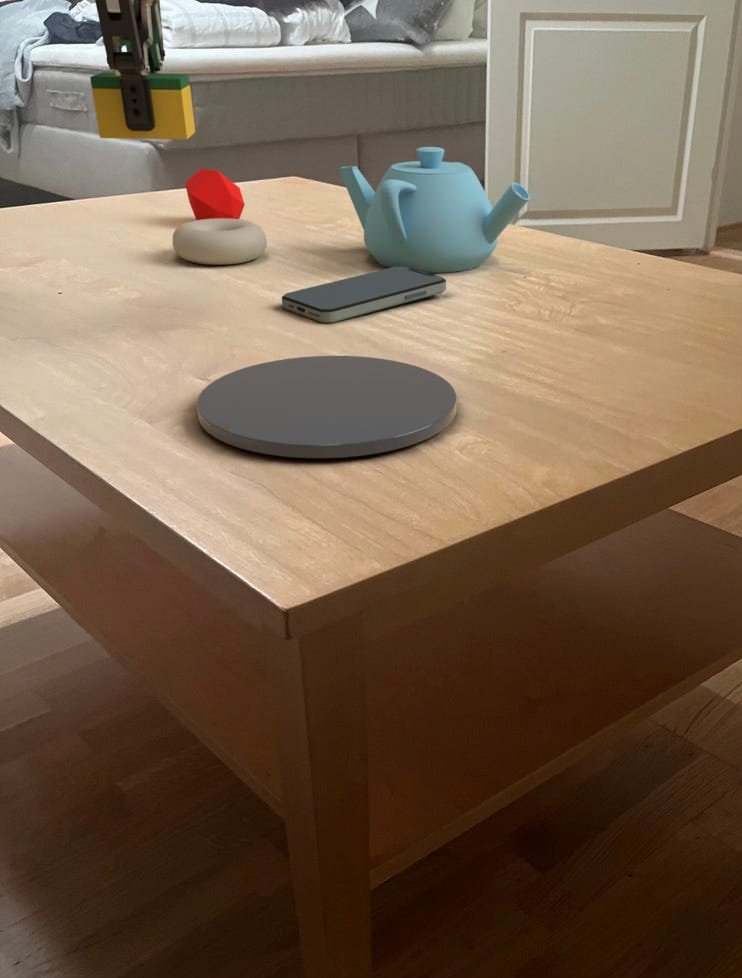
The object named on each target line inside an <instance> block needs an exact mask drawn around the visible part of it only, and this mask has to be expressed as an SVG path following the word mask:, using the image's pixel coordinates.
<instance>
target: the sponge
mask: <svg viewBox="0 0 742 978" xmlns="http://www.w3.org/2000/svg"><path fill="white" fill-rule="evenodd" d="M119 78H122V77H116V75H115V72H114V71H113V72H111V71H110V72H108V71H106V72H104V71H103V72H100V73H97V74H94V75H91V76H90V77H89V79H90V84H91V85H90V87H91V93H92V98H93V105H94V109H95V117H96V122H97V128H98V135H99V138H100V139H125V140H127V139H129V140H130V139H132V140H188V139H190V138H191V137H192V136H193V135H194V134H195V133H196V126H195V125H196V124H195V117H194V109H193V101H192V100H193V99H192V92H191V85H190V84H191V81H190V74H188V73H162V72H157V73H149V80H150V88H151V95H152V103H153V110H154V117H155V128H154V129H153V130H151V131H131V130H129V129H128V128H127V126H126V122H125V115H124V109H123V102H122V95H121V89H120V82H119Z"/></svg>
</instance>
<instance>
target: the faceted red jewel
mask: <svg viewBox="0 0 742 978" xmlns="http://www.w3.org/2000/svg"><path fill="white" fill-rule="evenodd" d="M184 185H185V189H186V193H187V198H188V203H189V205H190V207H191V210H192V213H193V216H194V218H195V221H196V220H202V219H220V218H224V219H239V220H240V218H241V216H242V214H243V210H244V208H245V206H246V205H245V202H244V198H243V195H242V191H241V188H240V187H239V185H237V184H235V182H233V181H232V180H231V179H229V178H228V177H227V176H225V175H224V174H223V173H221V172H220V171H219V170H216V169H208V168H200V169H199V170H198V171H196V173H195V172H194V174H193V175H192V176H191V177H190V178H189V179H187V181H185V182H184Z"/></svg>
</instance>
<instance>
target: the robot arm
mask: <svg viewBox="0 0 742 978" xmlns="http://www.w3.org/2000/svg"><path fill="white" fill-rule="evenodd" d="M94 1H95V7H96V11H97V17H98V21H99V26H100V30H101V36H102V41H103V45H104V49H105V54H106V63H107V65H108V67H109V70H110V71H113V73H115V75H116V77H122V78H119V82H120V89H121V95H122V102H123V109H124V115H125V122H126V126H127V128H128V129H129V130H131V131H151V130H153V129H154V128H155V117H154V110H153V103H152V95H151V88H150V80H149V73H162V72H163V67H164V63H163V62H165V57H166V49H165V47H164V36H163V26H162V13H161V12H162V11H161V2H160V0H94ZM124 46H125V48H126V51H123V47H124Z"/></svg>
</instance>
